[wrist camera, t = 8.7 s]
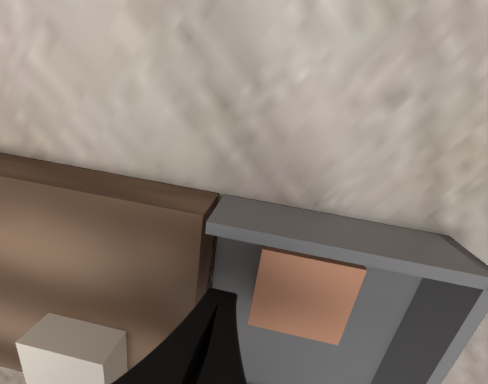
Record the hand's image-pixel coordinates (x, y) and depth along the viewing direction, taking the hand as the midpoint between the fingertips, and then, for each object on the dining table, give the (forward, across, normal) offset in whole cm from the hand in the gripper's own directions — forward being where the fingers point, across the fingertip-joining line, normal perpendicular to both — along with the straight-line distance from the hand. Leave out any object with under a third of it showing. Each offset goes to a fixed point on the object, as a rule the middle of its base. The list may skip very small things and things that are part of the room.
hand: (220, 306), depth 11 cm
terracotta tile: (+2, -4, 0) cm, 4 cm away
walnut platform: (+4, +9, +4) cm, 10 cm away
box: (+4, -5, +4) cm, 7 cm away
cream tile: (+1, +8, +7) cm, 11 cm away
